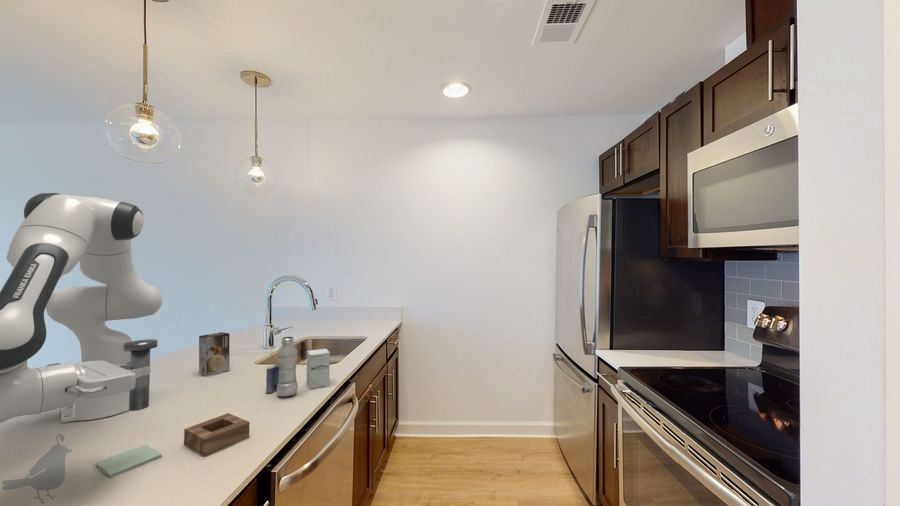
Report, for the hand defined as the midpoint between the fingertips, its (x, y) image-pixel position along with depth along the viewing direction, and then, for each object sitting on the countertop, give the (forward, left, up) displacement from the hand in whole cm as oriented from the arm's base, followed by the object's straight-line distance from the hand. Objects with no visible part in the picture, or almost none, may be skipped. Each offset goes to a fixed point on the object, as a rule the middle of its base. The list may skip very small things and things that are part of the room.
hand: (144, 368), depth 82 cm
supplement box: (-4, +53, -21) cm, 57 cm away
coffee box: (-54, +41, -21) cm, 71 cm away
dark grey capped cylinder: (0, -1, -9) cm, 9 cm away
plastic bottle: (-5, +41, -21) cm, 46 cm away
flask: (-13, +43, -21) cm, 49 cm away
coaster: (-1, -2, -21) cm, 21 cm away
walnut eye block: (+7, +13, -21) cm, 26 cm away
